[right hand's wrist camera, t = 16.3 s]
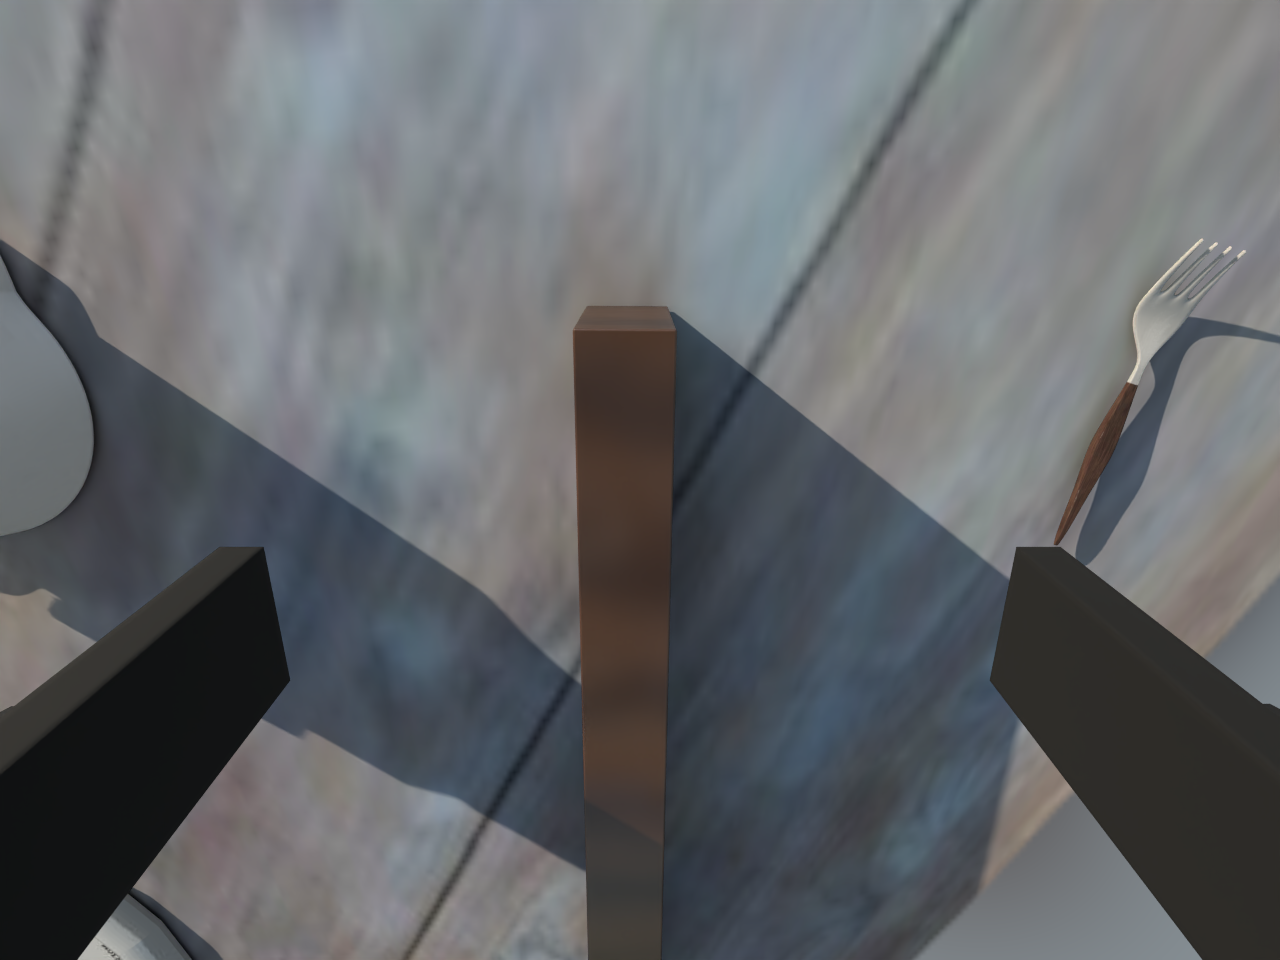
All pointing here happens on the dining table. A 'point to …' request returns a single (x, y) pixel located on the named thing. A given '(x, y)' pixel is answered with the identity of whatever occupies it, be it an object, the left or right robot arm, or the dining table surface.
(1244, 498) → the dining table surface
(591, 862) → the walnut beam
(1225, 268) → the fork
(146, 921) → the wall clock
